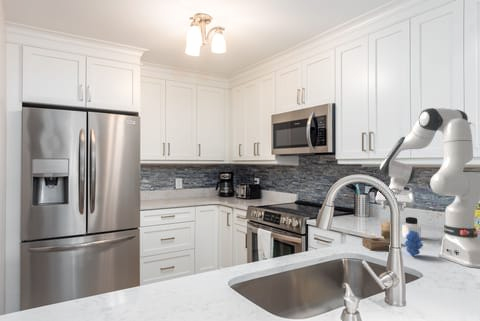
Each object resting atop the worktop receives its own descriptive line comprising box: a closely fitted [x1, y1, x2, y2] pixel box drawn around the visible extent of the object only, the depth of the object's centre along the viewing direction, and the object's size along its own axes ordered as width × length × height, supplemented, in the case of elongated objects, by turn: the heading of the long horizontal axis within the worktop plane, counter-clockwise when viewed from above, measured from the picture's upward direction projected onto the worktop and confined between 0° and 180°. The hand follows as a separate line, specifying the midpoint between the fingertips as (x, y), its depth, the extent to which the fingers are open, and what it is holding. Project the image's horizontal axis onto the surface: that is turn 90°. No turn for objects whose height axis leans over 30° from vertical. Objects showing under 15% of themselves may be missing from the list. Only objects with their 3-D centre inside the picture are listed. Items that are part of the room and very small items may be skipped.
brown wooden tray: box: [361, 237, 391, 252], centre depth 159 cm, size 10×10×4 cm
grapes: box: [404, 230, 424, 257], centre depth 144 cm, size 12×7×12 cm, turn 125°
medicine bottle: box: [401, 216, 422, 240], centre depth 182 cm, size 7×7×12 cm
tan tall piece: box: [380, 221, 391, 242], centre depth 168 cm, size 6×6×11 cm
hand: (392, 209), depth 178 cm, fingers open, 8 cm apart
